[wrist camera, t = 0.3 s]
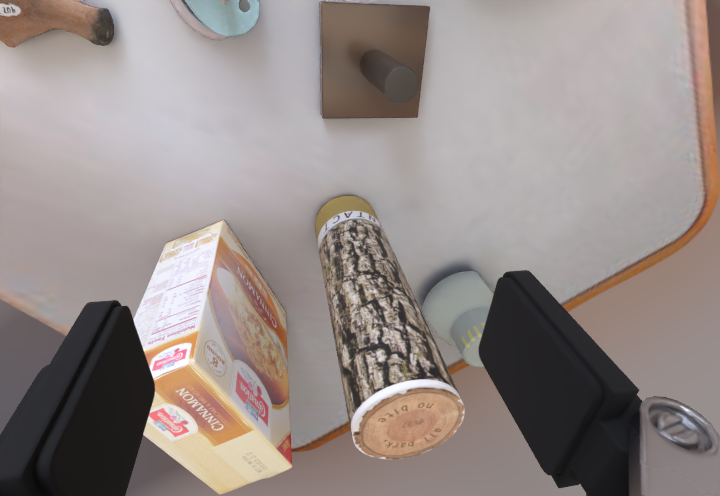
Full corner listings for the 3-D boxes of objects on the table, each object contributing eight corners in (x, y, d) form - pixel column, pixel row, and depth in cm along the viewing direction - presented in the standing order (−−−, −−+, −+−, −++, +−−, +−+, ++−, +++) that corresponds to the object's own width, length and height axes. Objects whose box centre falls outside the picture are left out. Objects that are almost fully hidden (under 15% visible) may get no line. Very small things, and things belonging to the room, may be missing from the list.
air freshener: (407, 290, 51) (433, 348, 43) (460, 251, 49) (498, 304, 41) (450, 331, 57) (481, 389, 48) (499, 297, 55) (539, 352, 46)
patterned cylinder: (374, 244, 46) (456, 448, 26) (315, 249, 45) (352, 467, 24) (376, 190, 43) (473, 378, 22) (312, 195, 41) (351, 397, 21)
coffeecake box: (288, 313, 49) (295, 469, 33) (235, 334, 50) (217, 499, 34) (225, 216, 41) (195, 362, 25) (163, 242, 41) (92, 403, 25)
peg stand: (319, 1, 32) (336, 4, 24) (424, 6, 34) (476, 10, 25) (320, 114, 37) (335, 151, 29) (413, 113, 39) (453, 148, 30)
